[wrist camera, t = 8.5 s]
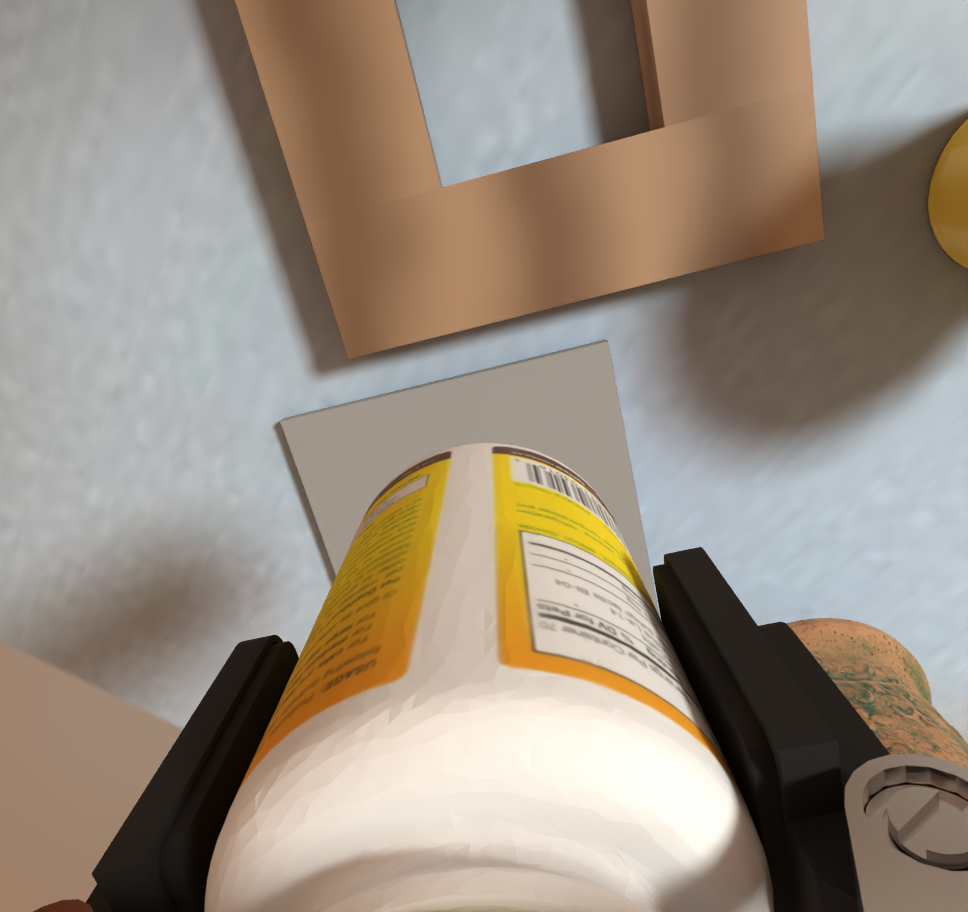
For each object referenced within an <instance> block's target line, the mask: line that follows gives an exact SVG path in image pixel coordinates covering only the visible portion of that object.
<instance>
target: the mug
mask: <svg viewBox="0 0 968 912" xmlns="http://www.w3.org/2000/svg"><path fill="white" fill-rule="evenodd" d="M787 625H788V626H789V627H790V628H791V629H792V630H793V631H794V632H795V634H796V635H797V636H798V637H799V639H800V640H801V641H802V643H803V644H804V645H805V646H806V648H807V649H808V650H809V651H810V653H811V654H812V655H813V657H814V658H815V659H816V660H817V662H818V663H819V664H820V665H821V667H822V668H823V669H824V670H825V672H826V673H827V674H828V676H829V677H830V678H831V679H832V681H833V682H834V683H835V684H836V686H837V687H838V688H839V689H840V691H841V692H842V693H843V695H844V696H845V697H846V698H847V700H848V701H849V702H850V703H851V705H852V706H853V707H854V708H855V710H856V711H857V712H858V714H859V715H860V716H861V717H862V719H863V720H864V721H865V722H866V724H867V725H868V726H869V727H870V729H871V730H872V731H873V733H874V734H875V735H876V736H877V738H878V739H879V740H880V741H881V743H882V744H883V745H884V747H885V748H886V749H887V750H888V752H889V753H890V754H891V755H893V754H917V755H923V756H929V757H935V758H941V759H943V760H946V761H949V762H952V763H955V764H957V765H960V766H963V767H966V768H968V744H967V743H966V741H965V740H964V739H963V737H962V736H961V735H960V734H959V732H958V731H957V730H956V729H955V728H954V727H953V726H951V725H950V724H949V723H948V722H947V721H946V720H945V719H944V718H943V717H942V716H941V715H940V714H939V713H938V712H937V710H936V709H935V708H934V707H933V706H932V702H931V692H930V687H929V683H928V681H927V678H926V675H925V673H924V671H923V669H922V667H921V666H920V664H919V663H918V661H917V660H916V659H915V658H914V656H913V655H912V654H911V653H910V652H909V651H908V650H907V649H906V648H905V647H904V646H903V645H901V644H900V643H899V642H898V641H897V640H895V639H894V638H893V637H891V636H890V635H888V634H886V633H885V632H883V631H881V630H879V629H877V628H874V627H872V626H869V625H866V624H863V623H859V622H855V621H851V620H844V619H833V618H818V619H807V620H800V621H796V622H791V623H787Z"/></svg>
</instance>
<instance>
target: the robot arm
mask: <svg viewBox="0 0 968 912" xmlns="http://www.w3.org/2000/svg"><path fill="white" fill-rule="evenodd" d="M653 574H654V581H655V586H656V592H657V598H658V603H659V609H660V615H661V621H662V624H663V626H664V628H665V630H666V632H667V634H668V637H669V639H670V641H671V643H672V645H673V648H674V650H675V652H676V654H677V656H678V658H679V660H680V663H681V665H682V667H683V669H684V671H685V673H686V675H687V678H688V680H689V682H690V684H691V686H692V688H693V690H694V692H695V695H696V697H697V699H698V701H699V703H700V705H701V707H702V709H703V711H704V714H705V716H706V718H707V720H708V723H709V725H710V727H711V729H712V732H713V734H714V736H715V738H716V740H717V742H718V744H719V746H720V748H721V750H722V752H723V754H724V756H725V758H726V761H727V763H728V765H729V767H730V769H731V771H732V773H733V776H734V778H735V781H736V783H737V785H738V787H739V789H740V791H741V793H742V795H743V798H744V800H745V802H746V805H747V807H748V810H749V812H750V815H751V817H752V820H753V822H754V825H755V827H756V830H757V832H758V835H759V837H760V840H761V843H762V845H763V848H764V851H765V855H766V858H767V863H768V867H769V872H770V877H771V882H772V887H773V902H774V912H968V768H966V767H963V766H960V765H957V764H955V763H952V762H949V761H946V760H943V759H941V758H935V757H929V756H923V755H917V754H893V755H891V754H890V753H889V752H888V750H887V749H886V748H885V747H884V745H883V744H882V743H881V741H880V740H879V739H878V738H877V736H876V735H875V734H874V733H873V731H872V730H871V729H870V727H869V726H868V725H867V724H866V722H865V721H864V720H863V719H862V717H861V716H860V715H859V714H858V712H857V711H856V710H855V708H854V707H853V706H852V705H851V703H850V702H849V701H848V700H847V698H846V697H845V696H844V695H843V693H842V692H841V691H840V689H839V688H838V687H837V686H836V684H835V683H834V682H833V681H832V679H831V678H830V677H829V676H828V674H827V673H826V672H825V670H824V669H823V668H822V667H821V665H820V664H819V663H818V662H817V660H816V659H815V658H814V657H813V655H812V654H811V653H810V651H809V650H808V649H807V648H806V646H805V645H804V644H803V643H802V641H801V640H800V639H799V637H798V636H797V635H796V634H795V632H794V631H793V630H792V629H791V628H790V627H789V626H788V625H787V624H786V623H784V622H777V623H771V624H766V625H761V626H757V624H756V623H755V621H754V620H753V619H752V617H751V616H750V614H749V613H748V612H747V610H746V609H745V607H744V606H743V604H742V603H741V602H740V600H739V599H738V597H737V596H736V595H735V593H734V592H733V590H732V589H731V587H730V586H729V585H728V583H727V582H726V580H725V579H724V578H723V576H722V575H721V573H720V572H719V570H718V569H717V568H716V566H715V565H714V563H713V562H712V560H711V559H710V558H709V556H708V555H707V553H706V552H705V551H704V549H703V548H702V547H698V548H693V549H688V550H683V551H679V552H674V553H669V554H665V555H664V564H663V565H658V566H653ZM298 659H299V657H298V655H297V652H296V650H295V648H294V646H293V644H292V643H291V642H289V641H287V642H283V641H282V639H281V638H280V637H279V636H277V635H271V636H267V637H262V638H257V639H252V640H247V641H243V642H240V643H239V644H238V645H237V646H236V647H235V649H234V650H233V652H232V654H231V655H230V657H229V658H228V660H227V661H226V663H225V665H224V666H223V668H222V669H221V671H220V672H219V674H218V676H217V677H216V679H215V680H214V682H213V683H212V685H211V687H210V688H209V690H208V691H207V693H206V694H205V696H204V698H203V699H202V701H201V702H200V704H199V705H198V707H197V709H196V710H195V712H194V713H193V715H192V716H191V718H190V720H189V721H188V723H187V724H186V726H185V728H184V729H183V731H182V732H181V734H180V735H179V738H178V739H177V740H176V742H175V743H174V745H173V746H172V748H171V750H170V751H169V753H168V754H167V756H166V757H165V759H164V761H163V762H162V764H161V765H160V767H159V768H158V770H157V772H156V773H155V775H154V776H153V778H152V780H151V781H150V783H149V784H148V786H147V787H146V789H145V791H144V792H143V794H142V795H141V797H140V799H139V800H138V802H137V803H136V805H135V806H134V808H133V809H132V811H131V813H130V814H129V816H128V817H127V819H126V821H125V822H124V824H123V825H122V827H121V828H120V830H119V831H118V833H117V835H116V836H115V838H114V839H113V841H112V842H111V844H110V846H109V847H108V849H107V850H106V852H105V853H104V855H103V857H102V858H101V860H100V861H99V863H98V865H97V866H96V868H95V869H94V871H93V872H92V875H93V877H94V879H95V880H96V882H97V885H96V887H95V889H94V890H93V892H92V893H91V895H90V897H89V898H88V900H87V901H86V903H85V902H83V901H81V900H79V899H76V900H61V901H58V902H55V903H52V904H49V905H46V906H43V907H41V908H39V909H37V910H35V911H34V912H204V909H205V894H206V886H207V878H208V873H209V869H210V864H211V860H212V856H213V853H214V850H215V846H216V843H217V840H218V837H219V835H220V832H221V830H222V828H223V825H224V823H225V820H226V818H227V815H228V812H229V810H230V808H231V805H232V803H233V801H234V799H235V797H236V794H237V792H238V790H239V788H240V786H241V784H242V781H243V779H244V777H245V775H246V773H247V771H248V769H249V766H250V764H251V762H252V760H253V758H254V756H255V754H256V752H257V750H258V747H259V745H260V743H261V741H262V738H263V736H264V734H265V732H266V730H267V727H268V725H269V723H270V721H271V719H272V717H273V715H274V712H275V710H276V708H277V706H278V704H279V701H280V699H281V697H282V695H283V692H284V690H285V688H286V686H287V683H288V681H289V679H290V677H291V675H292V672H293V670H294V668H295V666H296V664H297V662H298Z"/></svg>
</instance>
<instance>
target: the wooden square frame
mask: <svg viewBox="0 0 968 912" xmlns="http://www.w3.org/2000/svg"><path fill="white" fill-rule="evenodd" d="M630 1H631V8H632V15H633V21H634V28H635V34H636V41H637V48H638V54H639V61H640V68H641V74H642V81H643V88H644V94H645V101H646V107H647V114H648V121H649V127H650V131H649V132H645V133H642V134H638V135H634V136H630V137H627V138H623V139H619V140H616V141H612V142H608V143H605V144H601V145H597V146H594V147H590V148H586V149H583V150H579V151H575V152H572V153H568V154H564V155H561V156H557V157H553V158H550V159H546V160H542V161H539V162H535V163H531V164H528V165H524V166H520V167H516V168H513V169H509V170H505V171H502V172H498V173H494V174H491V175H487V176H483V177H480V178H476V179H472V180H469V181H465V182H461V183H458V184H454V185H450V186H447V187H443V188H442V184H441V180H440V176H439V172H438V168H437V164H436V160H435V156H434V152H433V148H432V144H431V140H430V136H429V132H428V128H427V124H426V120H425V116H424V112H423V108H422V104H421V100H420V96H419V92H418V88H417V84H416V80H415V76H414V72H413V68H412V64H411V60H410V56H409V52H408V48H407V44H406V40H405V36H404V32H403V28H402V24H401V20H400V16H399V12H398V8H397V4H396V0H235V3H236V6H237V9H238V12H239V16H240V19H241V22H242V25H243V28H244V31H245V35H246V38H247V41H248V44H249V47H250V50H251V54H252V57H253V60H254V63H255V66H256V69H257V72H258V76H259V79H260V82H261V85H262V88H263V91H264V95H265V98H266V101H267V104H268V107H269V110H270V113H271V117H272V120H273V123H274V126H275V129H276V132H277V136H278V139H279V142H280V145H281V148H282V151H283V155H284V158H285V161H286V164H287V167H288V170H289V173H290V177H291V180H292V183H293V186H294V189H295V192H296V196H297V199H298V202H299V205H300V208H301V211H302V215H303V218H304V221H305V224H306V227H307V230H308V233H309V237H310V240H311V243H312V246H313V249H314V252H315V256H316V259H317V262H318V265H319V268H320V271H321V275H322V278H323V281H324V284H325V287H326V290H327V293H328V297H329V300H330V303H331V306H332V309H333V312H334V316H335V319H336V322H337V325H338V328H339V331H340V334H341V338H342V341H343V344H344V347H345V350H346V353H347V357H348V359H351V358H355V357H359V356H363V355H367V354H371V353H375V352H379V351H383V350H387V349H391V348H395V347H399V346H403V345H406V344H410V343H414V342H418V341H422V340H426V339H430V338H434V337H438V336H442V335H446V334H450V333H454V332H458V331H462V330H466V329H470V328H474V327H478V326H482V325H486V324H490V323H494V322H498V321H502V320H506V319H510V318H514V317H518V316H522V315H526V314H530V313H534V312H538V311H542V310H546V309H550V308H554V307H558V306H562V305H566V304H570V303H574V302H578V301H582V300H586V299H590V298H594V297H598V296H602V295H606V294H610V293H614V292H618V291H622V290H626V289H629V288H633V287H637V286H641V285H645V284H649V283H653V282H657V281H661V280H665V279H669V278H673V277H677V276H681V275H685V274H689V273H693V272H697V271H701V270H705V269H709V268H713V267H717V266H721V265H725V264H729V263H733V262H737V261H741V260H745V259H749V258H753V257H757V256H761V255H765V254H769V253H773V252H777V251H781V250H785V249H789V248H793V247H797V246H801V245H805V244H809V243H813V242H817V241H821V240H825V238H824V225H823V212H822V199H821V186H820V173H819V160H818V147H817V134H816V121H815V108H814V95H813V82H812V69H811V56H810V43H809V30H808V17H807V4H806V0H630Z"/></svg>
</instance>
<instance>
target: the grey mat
mask: <svg viewBox="0 0 968 912" xmlns="http://www.w3.org/2000/svg"><path fill="white" fill-rule="evenodd" d="M280 423H281V425H282V428H283V431H284V434H285V436H286V439H287V442H288V445H289V448H290V450H291V453H292V456H293V459H294V461H295V464H296V467H297V470H298V472H299V475H300V478H301V481H302V483H303V486H304V489H305V492H306V495H307V497H308V500H309V503H310V506H311V508H312V511H313V514H314V517H315V519H316V522H317V525H318V528H319V530H320V533H321V536H322V539H323V542H324V544H325V547H326V550H327V553H328V555H329V558H330V561H331V564H332V566H333V569H334V572H335V575H336V576H337V574H338V572H339V569H340V567H341V565H342V562H343V560H344V559H345V556H346V554H347V552H348V549H349V547H350V545H351V542H352V540H353V538H354V536H355V534H356V531H357V529H358V527H359V525H360V523H361V521H362V519H363V517H364V515H365V513H366V512H367V510H368V508H369V506H370V505H371V503H372V502H373V500H374V499H375V497H376V496H377V495H378V494H379V493H380V491H381V490H382V489H383V488H384V487H385V486H386V485H387V484H388V483H389V482H390V481H391V480H392V479H393V478H395V477H396V476H397V475H398V474H399V473H400V472H402V471H403V470H404V469H406V468H407V467H409V466H410V465H412V464H413V463H415V462H417V461H419V460H421V459H423V458H425V457H427V456H429V455H431V454H434V453H436V452H439V451H441V450H445V449H448V448H452V447H456V446H461V445H466V444H476V443H499V444H508V445H515V446H520V447H524V448H528V449H531V450H535V451H538V452H540V453H542V454H544V455H547V456H549V457H551V458H553V459H555V460H557V461H559V462H561V463H563V464H564V465H566V466H567V467H569V468H570V469H571V470H573V471H574V472H575V473H577V474H578V475H579V476H580V477H582V478H583V479H584V480H585V481H586V482H587V483H588V484H589V485H590V486H591V487H592V488H593V490H594V491H595V492H596V493H597V495H598V496H599V497H600V498H601V500H602V501H603V503H604V504H605V506H606V507H607V509H608V510H609V512H610V514H611V515H612V516H613V518H614V520H615V522H616V525H617V528H618V530H619V532H620V534H621V536H622V538H623V540H624V543H625V545H626V547H627V549H628V551H629V554H630V556H631V558H632V560H633V562H634V564H635V566H636V568H637V570H638V572H639V574H640V576H641V578H642V581H643V583H644V585H645V587H646V590H647V591H648V593H649V595H650V597H651V599H652V601H653V603H654V606H655V608H656V610H657V612H658V607H657V601H656V596H655V591H654V585H653V580H652V575H651V569H650V564H649V558H648V553H647V548H646V542H645V537H644V532H643V526H642V521H641V516H640V510H639V505H638V500H637V494H636V489H635V484H634V478H633V473H632V467H631V462H630V457H629V451H628V446H627V441H626V435H625V430H624V425H623V419H622V414H621V409H620V403H619V398H618V393H617V387H616V382H615V376H614V371H613V366H612V360H611V355H610V350H609V344H608V341H607V340H602V341H598V342H594V343H590V344H586V345H582V346H578V347H574V348H570V349H566V350H561V351H557V352H553V353H549V354H545V355H541V356H537V357H533V358H529V359H525V360H521V361H517V362H512V363H508V364H504V365H500V366H496V367H492V368H488V369H484V370H480V371H476V372H472V373H468V374H463V375H459V376H455V377H451V378H447V379H443V380H439V381H435V382H431V383H427V384H423V385H419V386H414V387H410V388H406V389H402V390H398V391H394V392H390V393H386V394H382V395H378V396H374V397H370V398H365V399H361V400H357V401H353V402H349V403H345V404H341V405H337V406H333V407H329V408H325V409H321V410H316V411H312V412H308V413H304V414H300V415H296V416H292V417H288V418H284V419H283V420H281V421H280ZM658 615H659V612H658Z"/></svg>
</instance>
